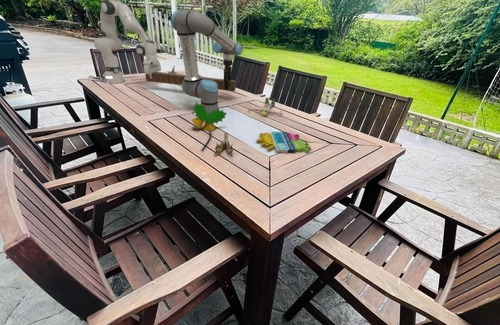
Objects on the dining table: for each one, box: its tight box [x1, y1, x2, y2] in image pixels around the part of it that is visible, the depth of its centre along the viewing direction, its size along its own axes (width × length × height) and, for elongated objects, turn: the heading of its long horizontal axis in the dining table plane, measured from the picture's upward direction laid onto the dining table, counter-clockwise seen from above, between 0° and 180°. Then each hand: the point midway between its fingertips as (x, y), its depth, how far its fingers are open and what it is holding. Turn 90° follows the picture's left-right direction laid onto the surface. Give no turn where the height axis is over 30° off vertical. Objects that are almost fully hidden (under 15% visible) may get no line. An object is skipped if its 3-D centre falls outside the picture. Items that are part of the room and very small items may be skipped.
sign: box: [256, 131, 312, 154], centre depth 152 cm, size 26×2×30 cm
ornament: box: [191, 102, 228, 132], centre depth 162 cm, size 21×8×15 cm, turn 105°
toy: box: [246, 97, 284, 117], centre depth 201 cm, size 28×7×30 cm
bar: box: [144, 71, 237, 92], centre depth 224 cm, size 81×6×8 cm, turn 75°
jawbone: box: [214, 131, 234, 156], centre depth 136 cm, size 9×15×10 cm
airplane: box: [167, 65, 178, 74], centre depth 276 cm, size 38×32×10 cm
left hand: (153, 77), depth 231 cm, fingers closed on bar, 5 cm apart
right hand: (227, 88), depth 219 cm, fingers closed on bar, 6 cm apart
